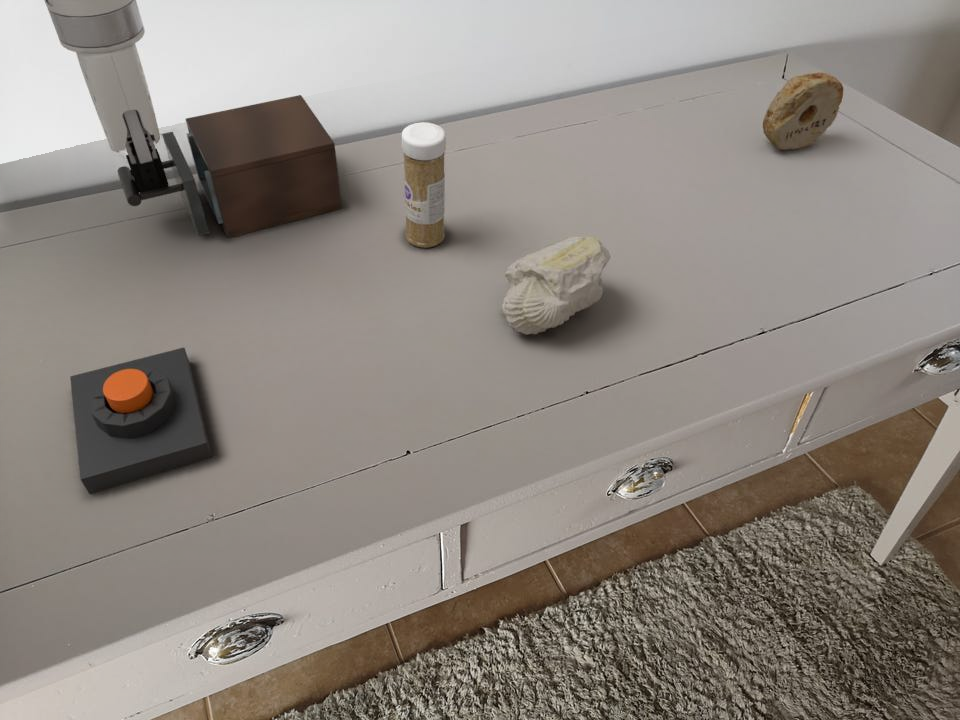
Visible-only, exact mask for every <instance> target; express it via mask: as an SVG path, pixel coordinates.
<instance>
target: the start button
mask: <svg viewBox="0 0 960 720" xmlns="http://www.w3.org/2000/svg"><path fill="white" fill-rule="evenodd" d="M103 393H104V395H105V397H106V399H107V401H108V403H109V405H110V407H111V408H112V409H113V410H114V411H116V412H119V413H133V412H136V411H138V410H141V409H142V408H144V407H145V406H146V405H147V404H148V403H149V402H150V401H151V399H152V396H153V390H152V387H151V385H150V382H149V380H148V378H147V376H146V374H145V373H144V372H142V371H140V370H137V369H125V370H121V371H118V372H116V373H114V374H112V375H111V376H110V377H109V378H108V379H107V380H106V381H105V383H104V386H103Z"/></svg>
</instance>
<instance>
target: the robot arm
mask: <svg viewBox="0 0 960 720" xmlns="http://www.w3.org/2000/svg"><path fill="white" fill-rule="evenodd" d="M43 1H44V4H45V6H46V8H47V11H48V14H49V16H50V19H51V22H52V25H53V27H54V29H55V33H56V35H57V37H58V41H59V43H60V45H61V47H63V48H65V49H66V50H67V51H71V52H73V53H75V54H76V57H77V61H78V64H79V68H80V70H81V73H82V75H83V79H84V82H85V84H86V87H87V90H88V92H89V95H90V98H91V100H92V103H93V106H94V108H95V109H94V110H95V112H96V114H97V117H98V120H99V122H100V124H101V127H102V130H103V133H104V135H105V138H106V141H107V143H108V146H109V148H110V150H111V151H112V152H114V153H120V152H121V151H125V150H126V153H127V154H125V158H126V160H127V163H128V166H129V168H130V170H131V172H132V175H133V178H134V181H135V183H136V186H137V189H138V191H139V194H140V193H142V192H146V191H151V190H155V189H159V188H164V187H168V186H170V184H169V180H168V178H167V174H166V171H165V169H164V168H163V165H162V162H163V161H162V158H161V155H160V153H159V151H158V148H156V145H155V144H159V142H160V140H161V135H160V129H159V125H158V121H157V116H156V112H155V109H154V105H153V100H152V97H151V94H150V90H149V86H148V82H147V79H146V76H145V72H144V69H143V65H142V62H141V58H140V55H139V51H138V48H137V45H136V43H138V42H139V41H140V40H142V38H143V37H144V35H145V27H144V24H143V20H142V16H141V13H140V10H139V9H140V8H139V6H138V2H137V0H43Z"/></svg>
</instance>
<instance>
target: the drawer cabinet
mask: <svg viewBox="0 0 960 720" xmlns="http://www.w3.org/2000/svg"><path fill="white" fill-rule="evenodd" d="M185 124H186V127H187V130H188V133H191V134H192V136H193V138H194V140H195V142H196V144H197V147H198V149H199V151H200V153H201V155H202V157H203V159H204V161H205V163H206V165H207V167H208V169H209V171H210V173H211V177H212V181H213V185H214V189H215V193H216V197H217V201H218V205H219V209H220V213H221V216H222V220H223V223H221V227H222V229H223V230H224V233H225V235H226V237H227V238H228V239H229V238H233V237H237V236H242V235H246V234H248V233H253V232H256V231H260V230H263V229H267V228H272V227H275V226H279V225H283V224H287V223H291V222H295V221H298V220H303V219H306V218H311V217H314V216H318V215H321V214H325V213H328V212H329V213H330V212H333V211H337V210H340V209H341V210H342V208H343V205H342V197H341V187H340V179H339V170H338V162H337V161H338V160H337V153H336V146H335V144H336V143H335V141H334V140H333V138H332V137H331V136H330V135H329V133H328V132H327V130H326V129H325V128H324V126H323V125H322V123H321V121H320V120H319V118H318V117H317V116H316V114H315V113H314V111H313V110H312V109H311V107H310V106H309V104H308V103H307V102H306V100H305V99H304V97H303V96H302V94H299V95H294V96H289V97H284V98H279V99H274V100H269V101H264V102H259V103H255V104H249V105H245V106H240V107H235V108H231V109H226V110H225V109H224V110H221V111H216V112H211V113H205V114H202V115H197V116H192V117H186V118H185Z"/></svg>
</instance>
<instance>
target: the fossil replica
mask: <svg viewBox="0 0 960 720" xmlns="http://www.w3.org/2000/svg"><path fill="white" fill-rule="evenodd" d="M610 259H611V254H610V251H609V250H608V249H607V248H606V247H605V246H604V244H603V243H602V242H601V241H600V239H599V238H596V237H595V236H594V237H593V236H589V237H588V236H571V237H568V238H565V239H564V240H563V241H558V242H556V243H554V244H551V245H548V246H546V247H544V248H542V249H539V250H537V251H534V252H531V253H529V254H527V255H524V256H522V257H521V258H518V259H517V260H515V261H514V262H512V264H511V265H509V266H507V268H506V270H505V273H504V277H505V278H506V280H507V282H508V284H509V287H510V288H509V289H508V290H507V292H506V295H505V297H504V299H503V301H502V305H501V309H502V313H503V315H504V316H505V319H506V321H507V322H508V325H509V326H510V328H512V329H514V330H515V331H516V332H517V333H522V334H524V335H528V336H529V335H538V333H542V332H546V330H547V329H551V328H556V327H558V326H562V325H564V323H565V322H567V321H569V320H570V318H571V316H575V314H576V312H580V311H581V310H585V309H588V308H589V307H591V306H592V305H593V304H596V303H597V302H598V301H600V299H601V297H602V296H603V293H604V292H603V291H604V289H603V286H604V285H603V282H604V281H603V279H602V273H603V270H604V269H605V267H606V266H607V264H608V263H609V261H610Z"/></svg>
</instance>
